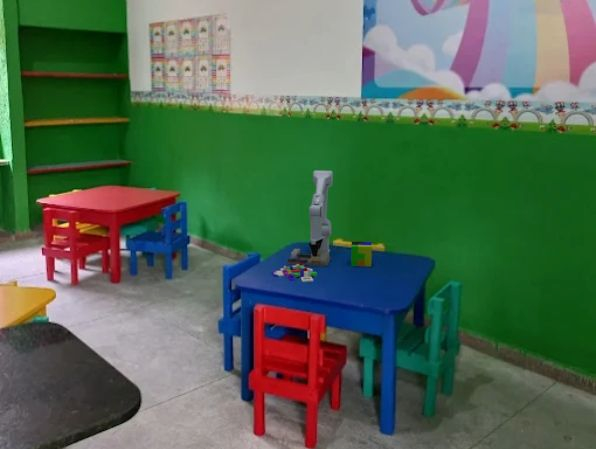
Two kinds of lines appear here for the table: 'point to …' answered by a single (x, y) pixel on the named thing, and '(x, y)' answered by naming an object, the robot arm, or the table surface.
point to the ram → (295, 254)
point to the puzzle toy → (361, 253)
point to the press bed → (307, 261)
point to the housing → (317, 256)
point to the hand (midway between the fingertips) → (316, 254)
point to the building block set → (304, 273)
